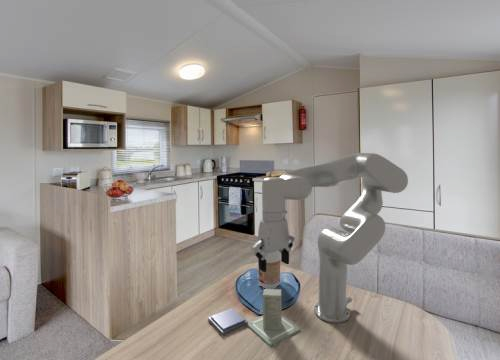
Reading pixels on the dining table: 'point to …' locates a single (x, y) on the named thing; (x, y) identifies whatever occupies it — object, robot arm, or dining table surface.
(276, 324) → the skincare box
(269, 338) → the marked board
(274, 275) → the fruit juice
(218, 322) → the ink pad
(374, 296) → the dining table surface
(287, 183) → the robot arm
